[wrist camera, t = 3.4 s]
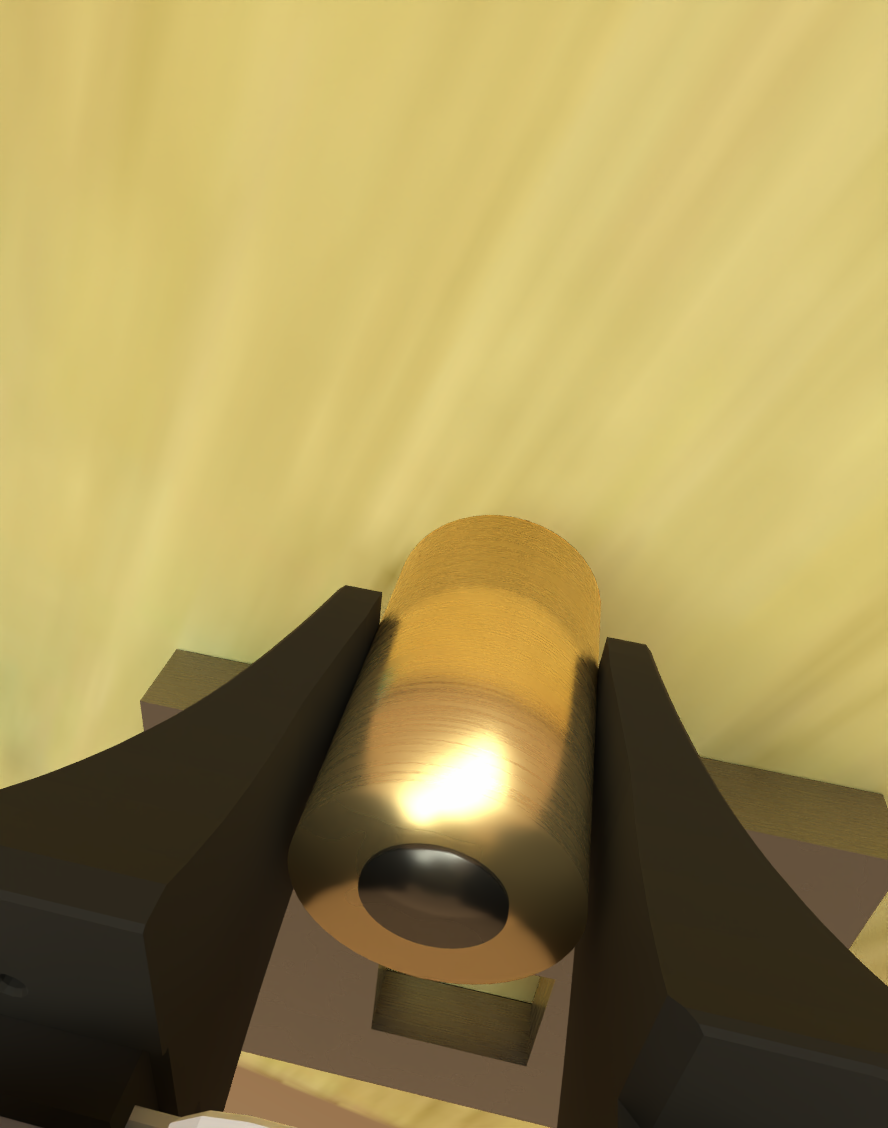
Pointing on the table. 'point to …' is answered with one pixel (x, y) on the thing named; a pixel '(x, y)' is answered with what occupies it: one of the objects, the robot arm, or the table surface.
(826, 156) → the table surface
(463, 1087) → the plate
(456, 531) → the bushing
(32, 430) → the table surface
